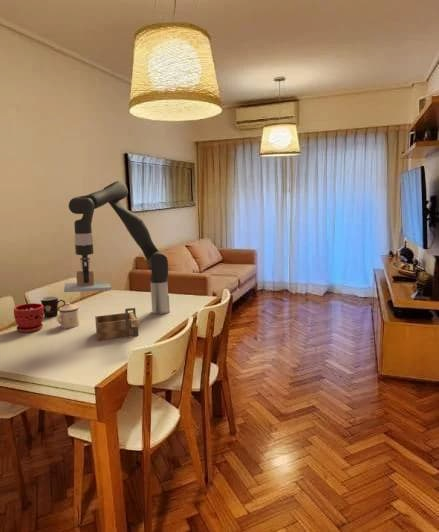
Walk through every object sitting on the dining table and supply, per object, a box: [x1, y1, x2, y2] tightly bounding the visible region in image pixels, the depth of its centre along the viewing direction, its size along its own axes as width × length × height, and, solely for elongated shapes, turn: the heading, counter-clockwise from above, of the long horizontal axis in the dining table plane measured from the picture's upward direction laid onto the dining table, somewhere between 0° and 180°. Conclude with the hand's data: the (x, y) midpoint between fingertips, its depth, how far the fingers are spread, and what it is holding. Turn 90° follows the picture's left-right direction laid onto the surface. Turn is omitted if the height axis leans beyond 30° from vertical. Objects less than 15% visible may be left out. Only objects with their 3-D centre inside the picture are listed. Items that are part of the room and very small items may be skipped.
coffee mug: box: [40, 295, 66, 319], centre depth 212 cm, size 12×9×10 cm
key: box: [128, 311, 140, 328], centre depth 167 cm, size 3×13×3 cm, turn 20°
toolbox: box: [94, 307, 139, 342], centre depth 180 cm, size 18×13×13 cm
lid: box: [63, 270, 112, 293], centre depth 173 cm, size 19×13×7 cm
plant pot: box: [13, 302, 44, 333], centre depth 190 cm, size 13×13×12 cm
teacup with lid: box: [56, 302, 80, 329], centre depth 194 cm, size 12×9×12 cm
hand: (86, 281), depth 174 cm, fingers closed on lid, 3 cm apart
